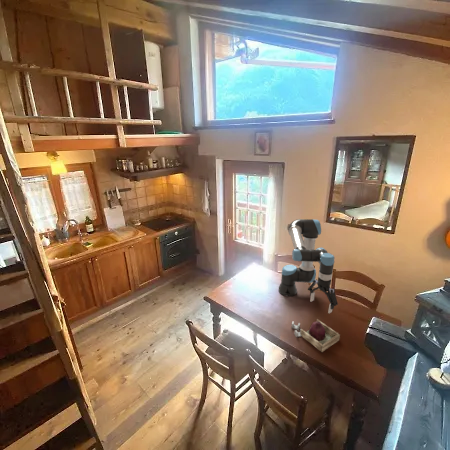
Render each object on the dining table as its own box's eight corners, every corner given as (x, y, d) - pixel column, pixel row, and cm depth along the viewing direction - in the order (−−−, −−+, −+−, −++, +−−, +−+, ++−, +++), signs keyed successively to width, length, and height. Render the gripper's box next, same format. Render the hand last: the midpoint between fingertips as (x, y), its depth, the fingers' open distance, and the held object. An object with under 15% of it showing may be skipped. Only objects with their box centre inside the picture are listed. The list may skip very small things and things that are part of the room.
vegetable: (322, 346, 160) (326, 333, 151) (306, 338, 165) (309, 325, 156) (326, 333, 167) (331, 320, 158) (311, 325, 172) (314, 313, 163)
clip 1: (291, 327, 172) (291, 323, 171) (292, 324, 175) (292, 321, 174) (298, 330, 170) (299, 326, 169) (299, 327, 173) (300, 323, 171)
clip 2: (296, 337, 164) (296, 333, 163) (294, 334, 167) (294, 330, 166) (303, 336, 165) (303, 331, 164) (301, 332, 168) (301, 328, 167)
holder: (300, 334, 166) (300, 329, 164) (316, 324, 175) (317, 319, 173) (322, 352, 152) (322, 346, 151) (339, 340, 161) (340, 334, 160)
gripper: (304, 270, 159) (301, 298, 166) (339, 289, 139) (334, 320, 147) (312, 267, 163) (308, 294, 170) (347, 285, 143) (342, 315, 150)
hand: (320, 306), depth 158 cm, fingers open, 13 cm apart
